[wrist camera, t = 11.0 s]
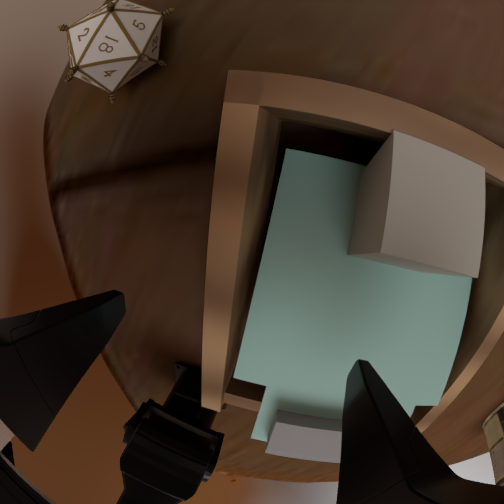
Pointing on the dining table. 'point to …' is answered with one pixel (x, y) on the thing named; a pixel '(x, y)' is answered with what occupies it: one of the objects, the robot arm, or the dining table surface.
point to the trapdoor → (337, 315)
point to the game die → (114, 44)
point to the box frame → (257, 204)
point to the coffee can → (496, 441)
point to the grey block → (420, 209)
